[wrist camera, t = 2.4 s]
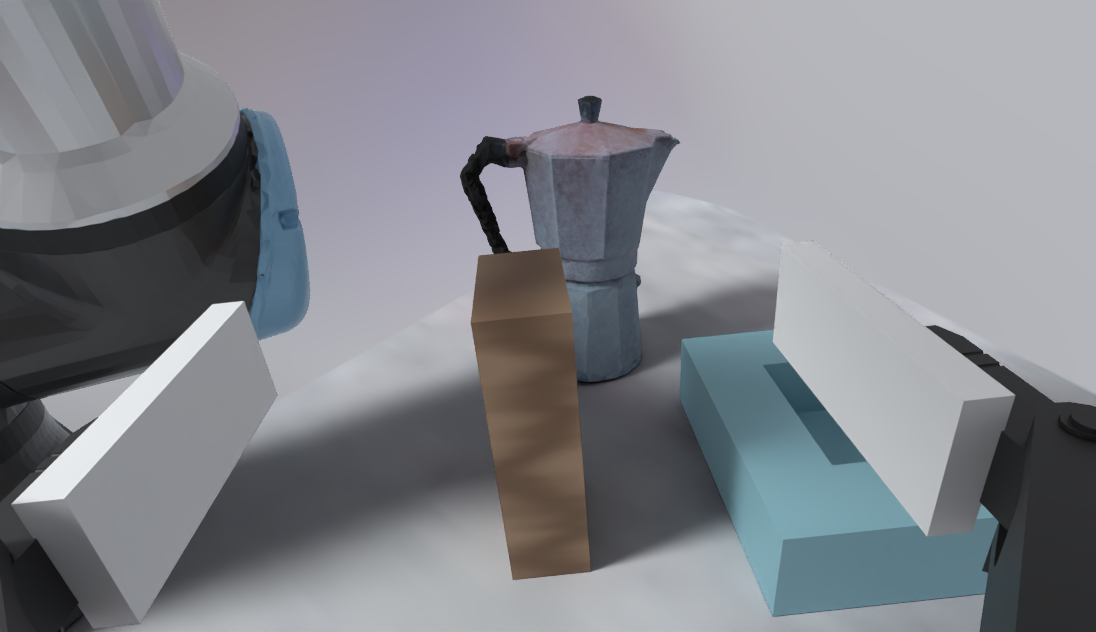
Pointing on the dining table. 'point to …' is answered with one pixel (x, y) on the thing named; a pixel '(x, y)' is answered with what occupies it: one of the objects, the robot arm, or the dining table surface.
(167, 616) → the dining table surface
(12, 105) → the robot arm
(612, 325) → the moka pot
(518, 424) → the walnut board
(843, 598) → the slotted base
